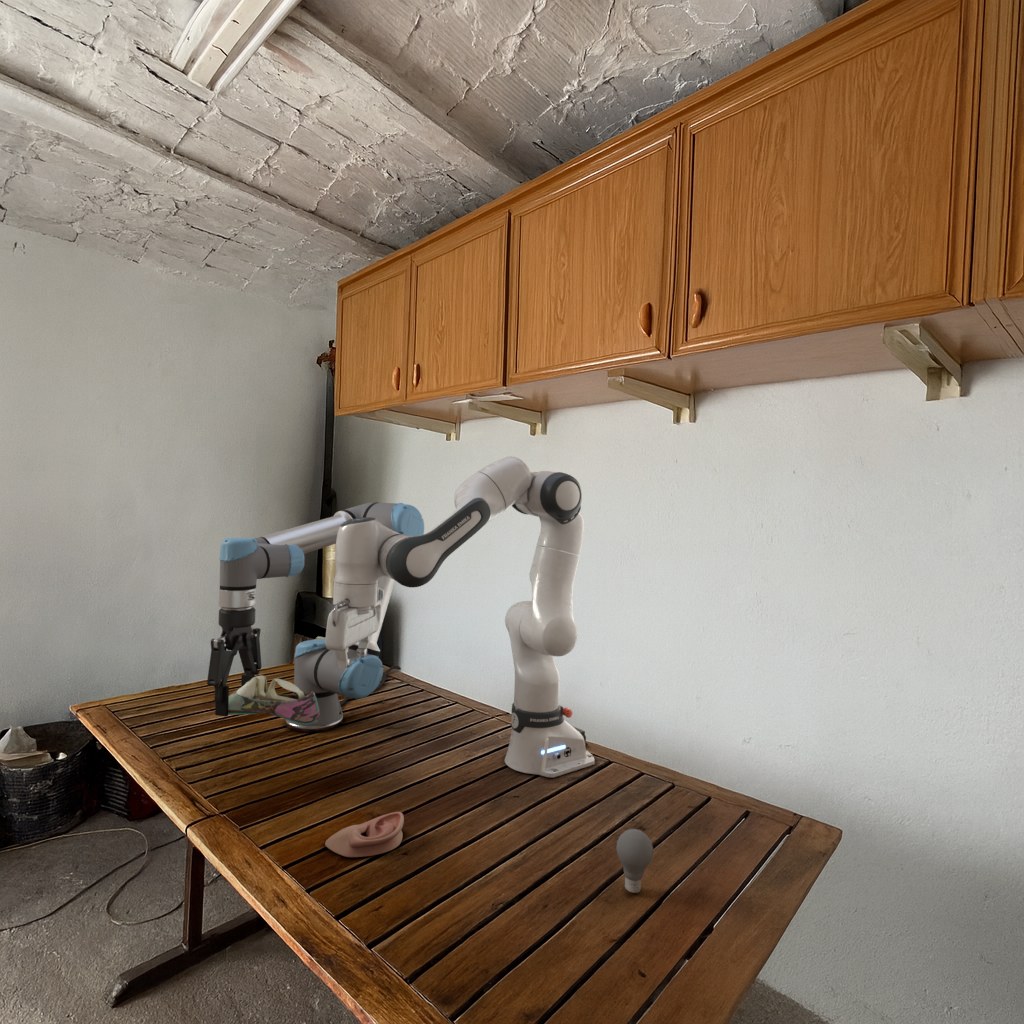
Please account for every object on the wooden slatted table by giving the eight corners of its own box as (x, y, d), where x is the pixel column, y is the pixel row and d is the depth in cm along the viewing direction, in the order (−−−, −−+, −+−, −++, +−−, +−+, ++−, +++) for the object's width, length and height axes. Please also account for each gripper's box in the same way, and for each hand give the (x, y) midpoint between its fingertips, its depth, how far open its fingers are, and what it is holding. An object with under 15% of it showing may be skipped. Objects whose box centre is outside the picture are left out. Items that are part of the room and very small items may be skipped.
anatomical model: (317, 830, 113) (346, 800, 124) (316, 852, 113) (345, 821, 124) (387, 841, 110) (410, 810, 121) (386, 864, 110) (410, 831, 121)
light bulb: (610, 879, 108) (613, 822, 108) (644, 879, 109) (647, 822, 109) (619, 902, 102) (622, 840, 102) (655, 901, 103) (658, 840, 103)
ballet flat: (235, 704, 147) (236, 667, 146) (328, 716, 140) (329, 678, 140) (209, 716, 139) (210, 677, 138) (306, 730, 132) (307, 689, 132)
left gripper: (219, 617, 130) (216, 727, 130) (280, 601, 150) (277, 697, 150) (188, 614, 132) (186, 722, 132) (252, 599, 152) (250, 693, 152)
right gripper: (349, 604, 120) (346, 677, 120) (386, 590, 140) (384, 652, 141) (318, 602, 121) (315, 674, 121) (359, 588, 141) (357, 650, 141)
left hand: (234, 709), depth 141 cm, fingers closed on ballet flat, 8 cm apart
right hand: (352, 662), depth 131 cm, fingers open, 8 cm apart
